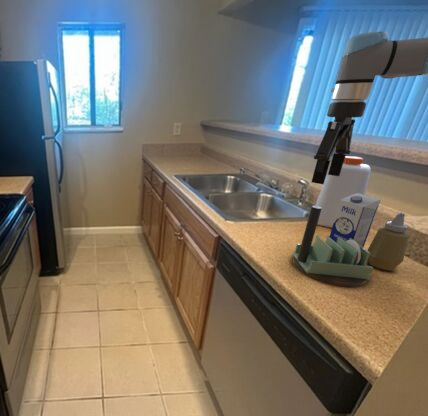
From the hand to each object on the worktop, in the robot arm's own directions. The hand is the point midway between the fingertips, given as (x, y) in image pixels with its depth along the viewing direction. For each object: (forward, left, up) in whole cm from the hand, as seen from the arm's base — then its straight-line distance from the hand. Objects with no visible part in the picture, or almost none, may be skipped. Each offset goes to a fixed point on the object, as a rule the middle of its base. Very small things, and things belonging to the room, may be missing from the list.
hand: (325, 179), depth 80 cm
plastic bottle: (-7, -43, -28) cm, 51 cm away
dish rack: (-6, +2, -27) cm, 27 cm away
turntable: (-6, +1, -28) cm, 28 cm away
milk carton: (-10, -16, -28) cm, 33 cm away
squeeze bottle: (-19, -11, -28) cm, 36 cm away
